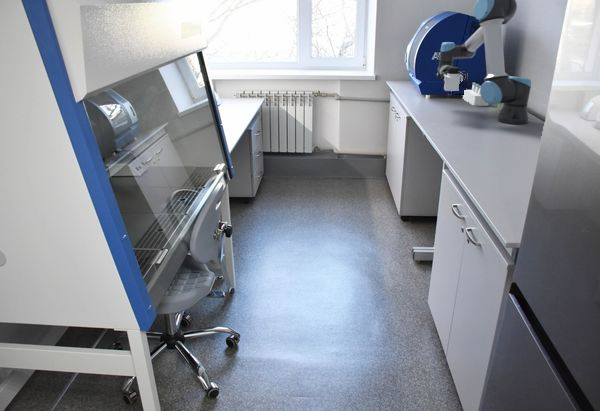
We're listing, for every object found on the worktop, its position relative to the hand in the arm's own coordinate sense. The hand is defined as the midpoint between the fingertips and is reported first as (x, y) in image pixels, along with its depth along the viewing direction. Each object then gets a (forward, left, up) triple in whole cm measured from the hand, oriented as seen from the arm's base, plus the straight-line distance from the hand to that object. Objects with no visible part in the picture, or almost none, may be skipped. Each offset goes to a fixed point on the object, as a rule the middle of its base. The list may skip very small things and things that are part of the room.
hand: (453, 78), depth 256 cm
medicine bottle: (+4, -3, -7) cm, 8 cm away
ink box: (0, -47, -22) cm, 52 cm away
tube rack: (+25, -52, -22) cm, 61 cm away
